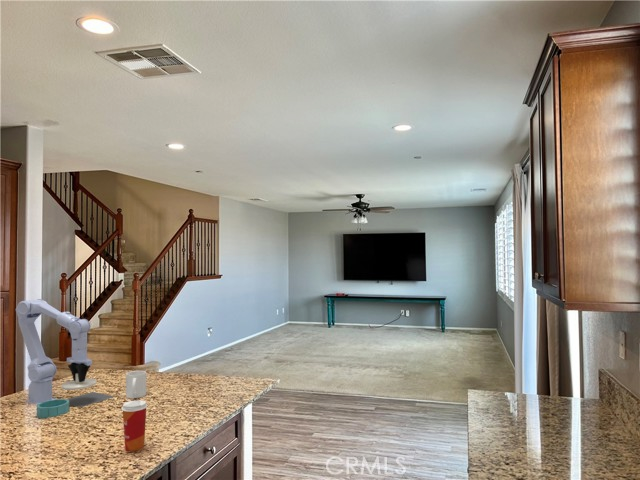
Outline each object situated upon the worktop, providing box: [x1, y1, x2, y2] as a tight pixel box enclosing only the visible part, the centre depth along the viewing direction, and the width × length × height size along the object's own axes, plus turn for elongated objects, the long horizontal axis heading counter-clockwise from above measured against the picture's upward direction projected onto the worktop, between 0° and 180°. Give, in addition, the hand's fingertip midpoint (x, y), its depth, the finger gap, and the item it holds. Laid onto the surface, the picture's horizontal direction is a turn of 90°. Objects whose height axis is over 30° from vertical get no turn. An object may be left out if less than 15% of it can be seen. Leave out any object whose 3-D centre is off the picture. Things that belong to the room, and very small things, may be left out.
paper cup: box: [121, 399, 148, 452], centre depth 146 cm, size 8×8×14 cm
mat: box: [66, 391, 116, 408], centre depth 197 cm, size 16×16×1 cm
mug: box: [125, 370, 147, 399], centre depth 199 cm, size 12×8×10 cm
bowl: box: [36, 398, 70, 420], centre depth 180 cm, size 11×11×4 cm
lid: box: [61, 373, 98, 391], centre depth 193 cm, size 13×13×5 cm
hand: (79, 381), depth 193 cm, fingers closed on lid, 3 cm apart
